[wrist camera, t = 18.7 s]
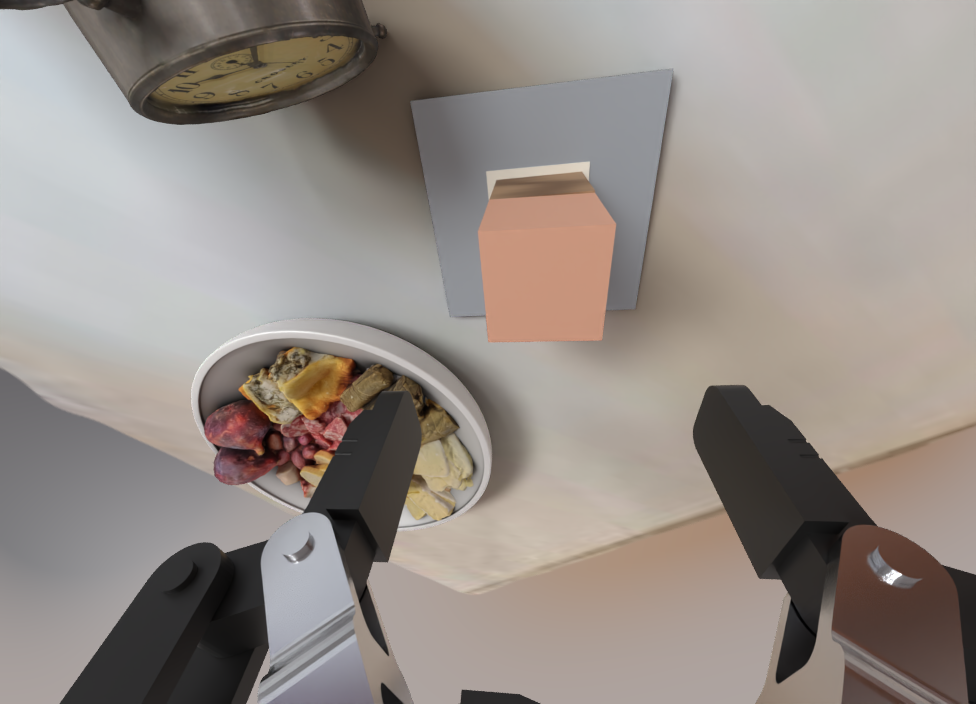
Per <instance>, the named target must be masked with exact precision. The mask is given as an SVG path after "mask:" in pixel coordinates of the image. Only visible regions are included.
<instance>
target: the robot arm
mask: <svg viewBox="0 0 976 704" xmlns="http://www.w3.org/2000/svg"><path fill="white" fill-rule="evenodd" d="M693 439H694V444H695V447H696V449H697V452H698V454H699V456H700V458H701V460H702V462H703V464H704V466H705V468H706V470H707V472H708V474H709V476H710V478H711V481H712V483H713V485H714V487H715V489H716V491H717V493H718V495H719V497H720V499H721V501H722V503H723V505H724V507H725V509H726V511H727V513H728V516H729V518H730V520H731V522H732V524H733V526H734V528H735V530H736V532H737V534H738V536H739V538H740V540H741V542H742V544H743V546H744V549H745V551H746V553H747V555H748V557H749V559H750V561H751V563H752V565H753V567H754V569H755V571H756V573H757V575H758V577H759V578H760V579H781V580H782V582H783V584H784V586H785V588H786V590H787V591H788V593H787V594H786V595H785V597H784V600H783V604H782V608H781V613H780V618H779V622H778V627H777V631H776V636H775V641H774V645H773V651H772V655H771V659H770V664H769V668H768V673H767V678H766V681H765V685H764V687H763V690H762V692H761V694H760V696H759V698H758V699H757V701H756V703H755V704H976V575H974V574H971V573H968V572H964V571H961V570H957V569H954V568H950V567H947V566H944V565H941V564H940V563H939V562H938V561H937V560H936V559H935V558H934V557H933V556H932V555H931V554H929V553H928V552H927V551H926V550H925V549H923V548H922V547H920V546H919V545H917V544H916V543H914V542H913V541H911V540H909V539H908V538H906V537H904V536H902V535H900V534H898V533H896V532H893V531H891V530H888V529H885V528H882V527H878V526H877V525H876V524H875V523H874V522H873V520H872V519H871V518H870V517H869V516H868V515H867V513H866V512H865V511H864V510H863V508H862V507H861V506H860V505H859V503H858V502H857V501H856V500H855V498H854V497H853V496H852V495H851V494H850V492H849V491H848V490H847V489H846V487H845V486H844V485H843V484H842V483H841V481H840V480H839V479H838V478H837V476H836V475H835V474H834V473H833V471H832V470H831V469H830V468H829V467H828V465H827V464H826V463H825V462H824V460H823V459H820V458H819V456H818V455H819V454H818V453H817V452H816V451H815V449H814V448H813V447H812V446H811V444H810V443H807V442H806V438H805V437H804V436H803V435H802V433H801V432H800V431H799V430H798V428H797V427H796V426H795V425H794V424H793V422H792V421H791V420H789V419H788V418H787V417H785V416H784V415H782V414H781V413H780V412H778V411H777V410H775V409H774V408H773V407H771V406H770V405H761V404H760V403H759V401H758V400H757V399H756V397H755V396H754V395H753V393H752V392H751V391H750V390H749V388H747V387H746V386H744V385H721V386H709V387H708V388H707V390H706V392H705V395H704V398H703V401H702V404H701V406H700V409H699V412H698V415H697V418H696V421H695V424H694V427H693ZM421 440H422V432H421V426H420V423H419V419H418V416H417V413H416V409H415V406H414V403H413V399H412V396H411V394H410V392H409V391H383V392H381V393H380V394H379V396H378V398H377V400H376V402H375V405H374V407H373V409H372V410H363V411H362V412H361V413H360V414H359V415H358V416H357V417H356V418H355V419H354V420H353V421H352V422H351V423H350V424H349V426H348V428H347V430H346V432H345V434H344V436H343V438H342V442H341V443H339V445H338V447H337V449H336V451H335V456H333V457H332V459H331V461H330V463H329V465H328V467H327V469H326V471H325V472H324V474H323V476H322V478H321V480H320V482H319V484H318V486H317V488H316V490H315V492H314V494H313V496H312V498H311V500H310V502H309V503H308V505H307V507H306V509H305V511H304V512H303V513H302V514H301V515H298V516H296V517H294V518H292V519H290V520H289V521H287V522H286V523H284V524H283V525H282V526H281V527H280V528H278V530H277V531H275V533H274V534H273V535H272V536H271V537H270V539H269V540H266V541H264V542H260V543H257V544H254V545H250V546H247V547H244V548H240V549H237V550H234V551H231V552H227V553H224V552H223V551H222V550H220V549H219V548H218V547H217V546H216V545H214V544H212V543H197V544H194V545H191V546H188V547H186V548H184V549H182V550H180V551H179V552H177V553H175V554H174V555H172V556H171V557H170V558H169V559H167V560H166V561H165V562H164V563H163V564H161V565H160V566H159V567H158V568H157V569H156V571H155V572H154V573H153V574H152V575H151V577H150V578H149V579H148V580H147V582H146V583H145V585H144V586H143V588H142V589H141V590H140V592H139V593H138V594H137V596H136V597H135V599H134V600H133V602H132V603H131V604H130V606H129V607H128V609H127V610H126V611H125V613H124V614H123V616H122V617H121V619H120V620H119V621H118V623H117V624H116V626H115V627H114V628H113V630H112V631H111V633H110V634H109V635H108V637H107V638H106V639H105V641H104V642H103V644H102V645H101V646H100V648H99V649H98V651H97V652H96V653H95V655H94V656H93V658H92V659H91V660H90V662H89V663H88V665H87V666H86V667H85V669H84V670H83V672H82V673H81V674H80V676H79V677H78V679H77V680H76V682H75V683H74V684H73V686H72V687H71V688H70V690H69V691H68V693H67V694H66V695H65V697H64V698H63V700H62V701H61V703H60V704H246V703H247V700H248V698H249V695H250V693H251V691H252V688H253V686H254V683H255V681H256V678H257V676H258V673H259V671H260V668H261V666H262V664H263V661H264V659H265V656H266V654H267V651H268V649H269V651H270V669H269V672H268V674H267V675H265V676H264V677H263V678H262V680H261V682H260V685H259V690H258V704H414V703H413V700H412V698H411V694H410V692H409V689H408V686H407V684H406V682H405V679H404V677H403V675H402V673H401V671H400V669H399V667H398V664H397V662H396V660H395V657H394V655H393V652H392V649H391V646H390V643H389V640H388V637H387V634H386V631H385V628H384V625H383V622H382V619H381V616H380V613H379V610H378V607H377V604H376V601H375V598H374V595H373V592H372V589H371V586H370V583H369V580H368V576H369V573H370V570H371V567H372V563H373V562H388V560H389V557H390V553H391V550H392V546H393V543H394V539H395V536H396V532H397V529H398V525H399V522H400V518H401V515H402V511H403V508H404V504H405V501H406V497H407V494H408V490H409V486H410V483H411V479H412V476H413V472H414V469H415V465H416V462H417V458H418V455H419V451H420V447H421ZM460 704H540V703H538V702H535V701H533V700H531V699H529V698H526V697H524V696H522V695H520V694H509V693H497V692H496V693H495V692H485V691H472V690H462V693H461V703H460Z"/></svg>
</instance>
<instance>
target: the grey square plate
mask: <svg viewBox="0 0 976 704" xmlns="http://www.w3.org/2000/svg"><path fill="white" fill-rule="evenodd" d="M672 75H673V69H665V70H657V71H649V72H641V73H633V74H625V75H617V76H609V77H601V78H592V79H584V80H576V81H568V82H560V83H552V84H544V85H536V86H528V87H520V88H511V89H503V90H495V91H487V92H479V93H471V94H463V95H455V96H447V97H439V98H431V99H422V100H414V101H410V103H411V108H412V114H413V119H414V124H415V130H416V135H417V141H418V146H419V152H420V157H421V163H422V168H423V173H424V179H425V184H426V190H427V195H428V201H429V206H430V211H431V217H432V222H433V228H434V233H435V239H436V244H437V249H438V255H439V260H440V266H441V271H442V277H443V282H444V287H445V293H446V298H447V304H448V309H449V315H450V317H459V316H483V315H486V311H485V301H484V291H483V280H482V270H481V260H480V249H479V239H478V230H479V227H480V224H481V221H482V219H483V216H484V213H485V210H486V207H487V205H488V202H489V199H490V196H491V194H492V191H493V188H494V185H495V182H496V180H501V179H511V178H521V177H531V176H541V175H552V174H562V173H572V172H583V174H584V175H585V177H586V178H587V180H588V181H589V183H590V184H591V185H592V187H593V188H594V190H595V193H596V195H597V196H598V198H599V199H600V201H601V202H602V204H603V205H604V207H605V208H606V210H607V211H608V213H609V214H610V216H611V217H612V218H613V220H614V221H615V223H616V231H615V239H614V247H613V255H612V263H611V271H610V279H609V287H608V295H607V303H606V310H628V309H635V308H636V302H637V296H638V289H639V283H640V277H641V270H642V264H643V258H644V251H645V245H646V239H647V233H648V226H649V220H650V214H651V207H652V201H653V195H654V188H655V182H656V176H657V169H658V163H659V157H660V151H661V144H662V138H663V132H664V125H665V119H666V113H667V106H668V100H669V94H670V87H671V81H672Z"/></svg>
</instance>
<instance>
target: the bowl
mask: <svg viewBox="0 0 976 704" xmlns="http://www.w3.org/2000/svg"><path fill="white" fill-rule="evenodd" d="M383 391H409V392H410V394H411V396H412V399H413V403H414V406H415V409H416V413H417V416H418V419H419V423H420V426H421V432H422V440H421V447H420V451H419V455H418V458H417V462H416V465H415V469H414V472H413V476H412V479H411V483H410V486H409V490H408V494H407V497H406V501H405V504H404V508H403V511H402V515H401V518H400V522H399V525H398V529H397V531H410V530H418V529H424V528H429V527H433V526H436V525H440V524H443V523H445V522H448V521H450V520H452V519H454V518H456V517H458V516H460V515H462V514H463V513H465V512H466V511H467V510H469V509H470V508H471V507H472V506H473V505H474V504H475V503H476V502H477V501H478V500H479V499H480V497H481V496H482V495H483V493H484V491H485V489H486V487H487V485H488V482H489V479H490V474H491V466H492V446H491V439H490V434H489V430H488V427H487V424H486V421H485V419H484V416H483V414H482V412H481V410H480V408H479V406H478V405H477V403H476V401H475V400H474V398H473V397H472V395H471V394H470V392H469V391H468V390H467V389H466V387H465V386H464V385H463V384H462V383H461V382H460V380H459V379H458V378H457V377H456V376H455V375H454V374H453V373H452V372H451V371H449V370H448V369H447V368H446V367H445V366H444V365H443V364H441V363H440V362H439V361H437V360H436V359H435V358H433V357H432V356H430V355H429V354H428V353H426V352H425V351H423V350H421V349H420V348H418V347H416V346H414V345H413V344H411V343H409V342H407V341H405V340H403V339H401V338H399V337H396V336H394V335H392V334H389V333H387V332H384V331H381V330H379V329H375V328H372V327H369V326H365V325H361V324H357V323H353V322H348V321H342V320H335V319H324V318H298V319H288V320H282V321H276V322H272V323H268V324H264V325H261V326H258V327H255V328H252V329H250V330H247V331H245V332H243V333H241V334H239V335H237V336H235V337H233V338H232V339H230V340H229V341H227V342H226V343H224V344H223V345H221V346H220V347H219V348H218V349H217V350H215V351H214V352H213V353H212V354H211V355H209V356H208V358H207V359H206V360H205V361H204V362H203V363H202V365H201V366H200V367H199V369H198V371H197V373H196V375H195V377H194V381H193V384H192V390H191V405H192V411H193V415H194V418H195V421H196V424H197V426H198V428H199V430H200V432H201V434H202V436H203V438H204V439H205V441H206V442H207V444H208V445H209V447H210V448H211V449H212V451H213V452H214V453H215V454H216V457H215V460H214V473H215V477H216V478H217V479H219V481H220V482H223V483H225V484H228V485H239V484H245V483H247V484H249V485H250V486H251V487H253V488H254V489H256V490H257V491H259V492H261V493H262V494H264V495H265V496H267V497H269V498H271V499H272V500H274V501H276V502H278V503H280V504H282V505H284V506H286V507H288V508H291V509H293V510H295V511H297V512H300V513H303V512H304V511H305V509H306V507H307V505H308V503H309V502H310V500H311V498H312V496H313V494H314V492H315V490H316V488H317V486H318V484H319V482H320V480H321V478H322V476H323V474H324V472H325V471H326V469H327V467H328V465H329V463H330V461H331V459H332V457H333V456H335V451H336V449H337V447H338V445H339V443H341V442H342V438H343V436H344V434H345V432H346V430H347V428H348V426H349V424H350V423H351V422H352V421H353V420H354V419H355V418H356V417H357V416H358V415H359V414H360V413H361V412H362V411H363V410H372V409H373V407H374V405H375V402H376V400H377V398H378V396H379V394H380V393H381V392H383Z"/></svg>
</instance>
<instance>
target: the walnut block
mask: <svg viewBox="0 0 976 704" xmlns="http://www.w3.org/2000/svg"><path fill="white" fill-rule="evenodd" d="M582 193H595V190H594V188H593V187H592V185H591V184H590V183H589V181H588V180H587V178H586V177H585V175H584V174H583V172H572V173H562V174H552V175H541V176H531V177H521V178H511V179H501V180H496V182H495V185H494V188H493V191H492V194H491V196H490V199H505V198H520V197H535V196H551V195H566V194H582Z"/></svg>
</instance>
